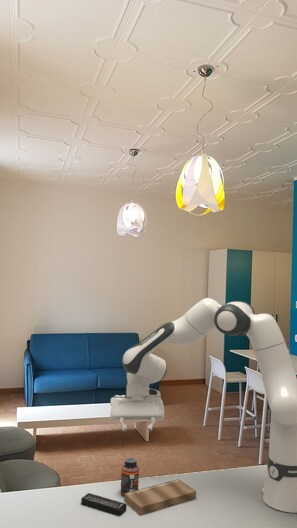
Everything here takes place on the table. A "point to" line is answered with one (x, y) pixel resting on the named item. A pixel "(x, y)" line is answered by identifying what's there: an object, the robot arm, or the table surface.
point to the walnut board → (159, 496)
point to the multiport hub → (103, 504)
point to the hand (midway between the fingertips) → (137, 430)
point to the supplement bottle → (129, 476)
